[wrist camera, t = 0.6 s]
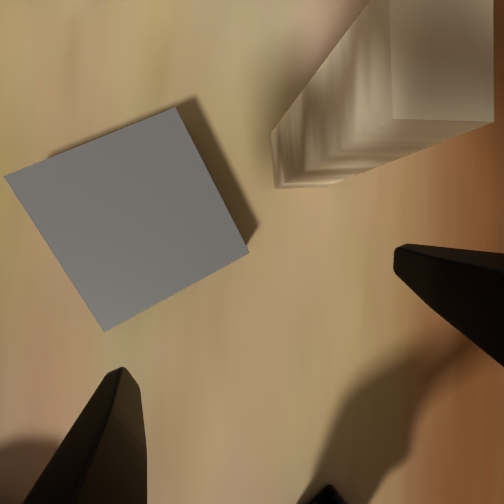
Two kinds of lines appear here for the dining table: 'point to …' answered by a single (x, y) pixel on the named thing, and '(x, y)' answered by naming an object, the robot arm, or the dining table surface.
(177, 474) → the dining table surface
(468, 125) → the maple post
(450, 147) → the dining table surface
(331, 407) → the dining table surface
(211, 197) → the plinth
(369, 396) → the dining table surface
